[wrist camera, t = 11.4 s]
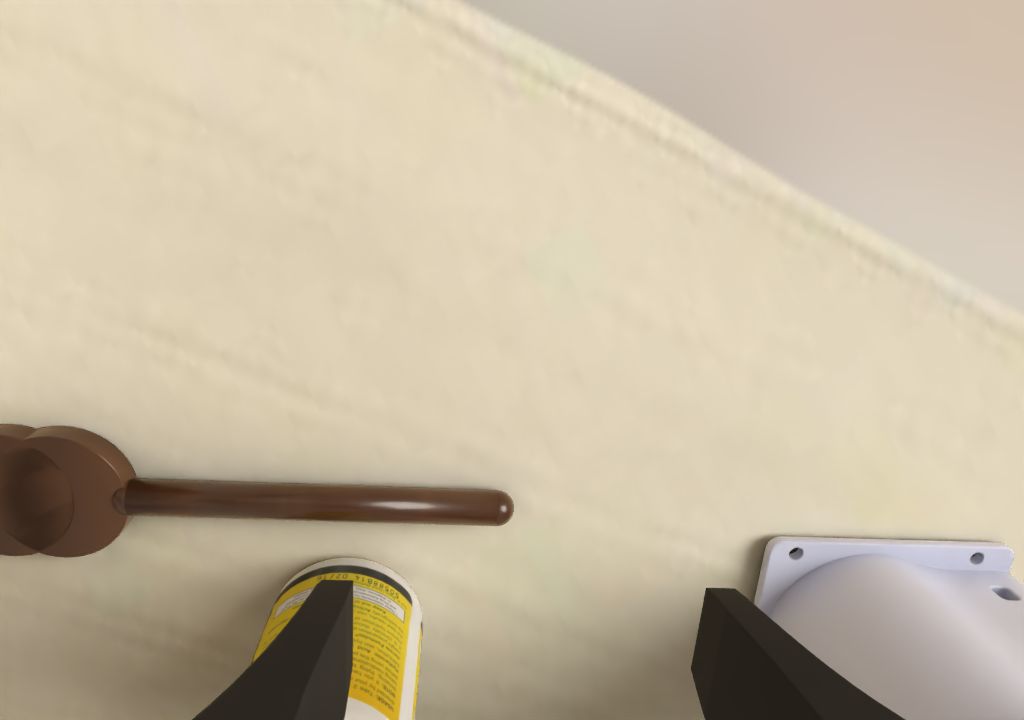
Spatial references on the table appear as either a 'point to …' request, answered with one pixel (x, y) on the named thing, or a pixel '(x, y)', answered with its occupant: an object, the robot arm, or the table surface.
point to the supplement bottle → (366, 634)
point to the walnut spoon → (182, 496)
